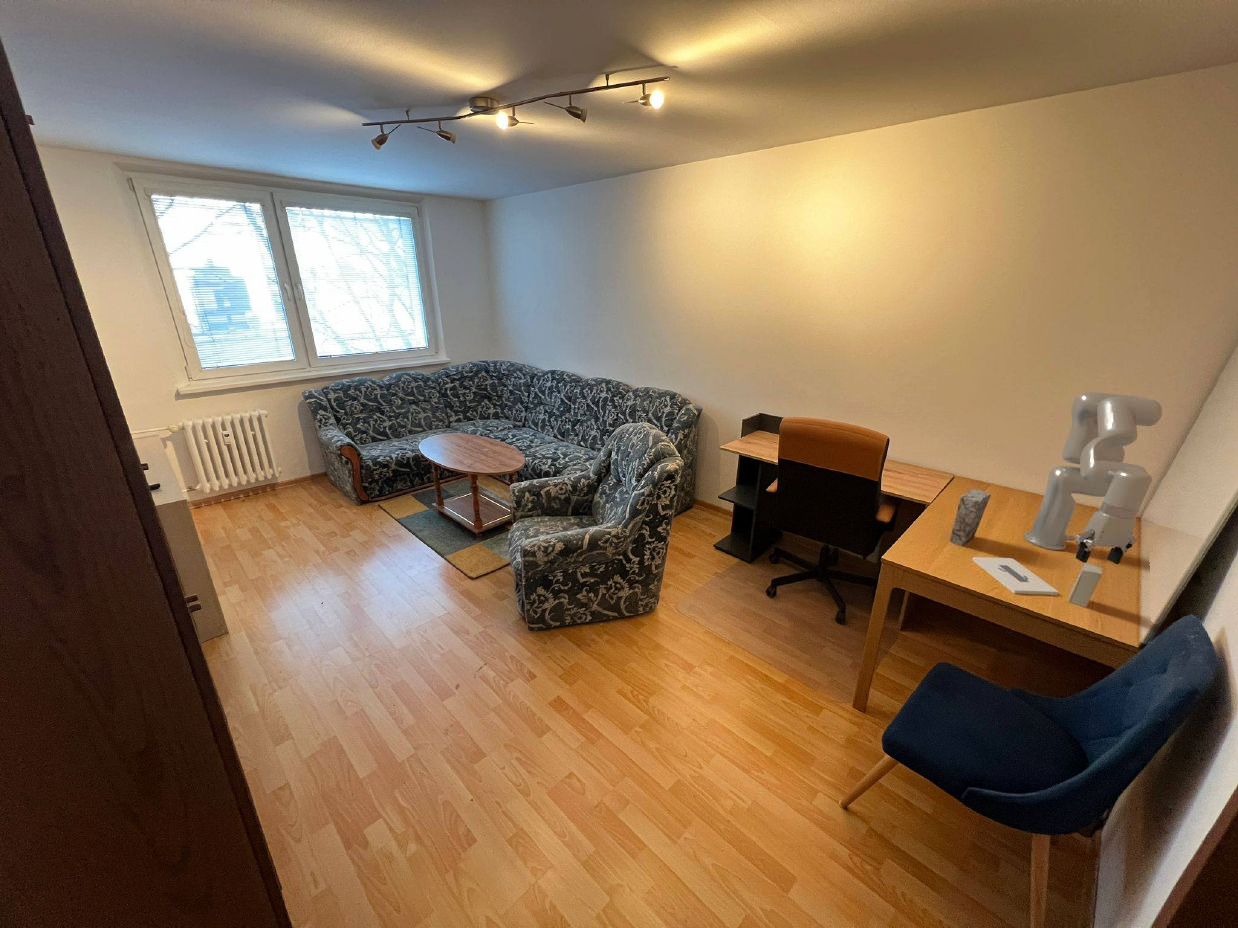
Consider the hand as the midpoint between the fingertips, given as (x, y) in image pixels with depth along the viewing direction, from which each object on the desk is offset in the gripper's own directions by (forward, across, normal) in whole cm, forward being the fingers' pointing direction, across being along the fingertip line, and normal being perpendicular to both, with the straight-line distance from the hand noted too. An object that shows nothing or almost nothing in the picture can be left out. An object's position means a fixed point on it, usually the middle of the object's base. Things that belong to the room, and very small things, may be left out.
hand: (1096, 561), depth 145 cm
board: (+15, +11, -14) cm, 23 cm away
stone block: (+15, +12, -39) cm, 43 cm away
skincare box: (+15, 0, -1) cm, 15 cm away
